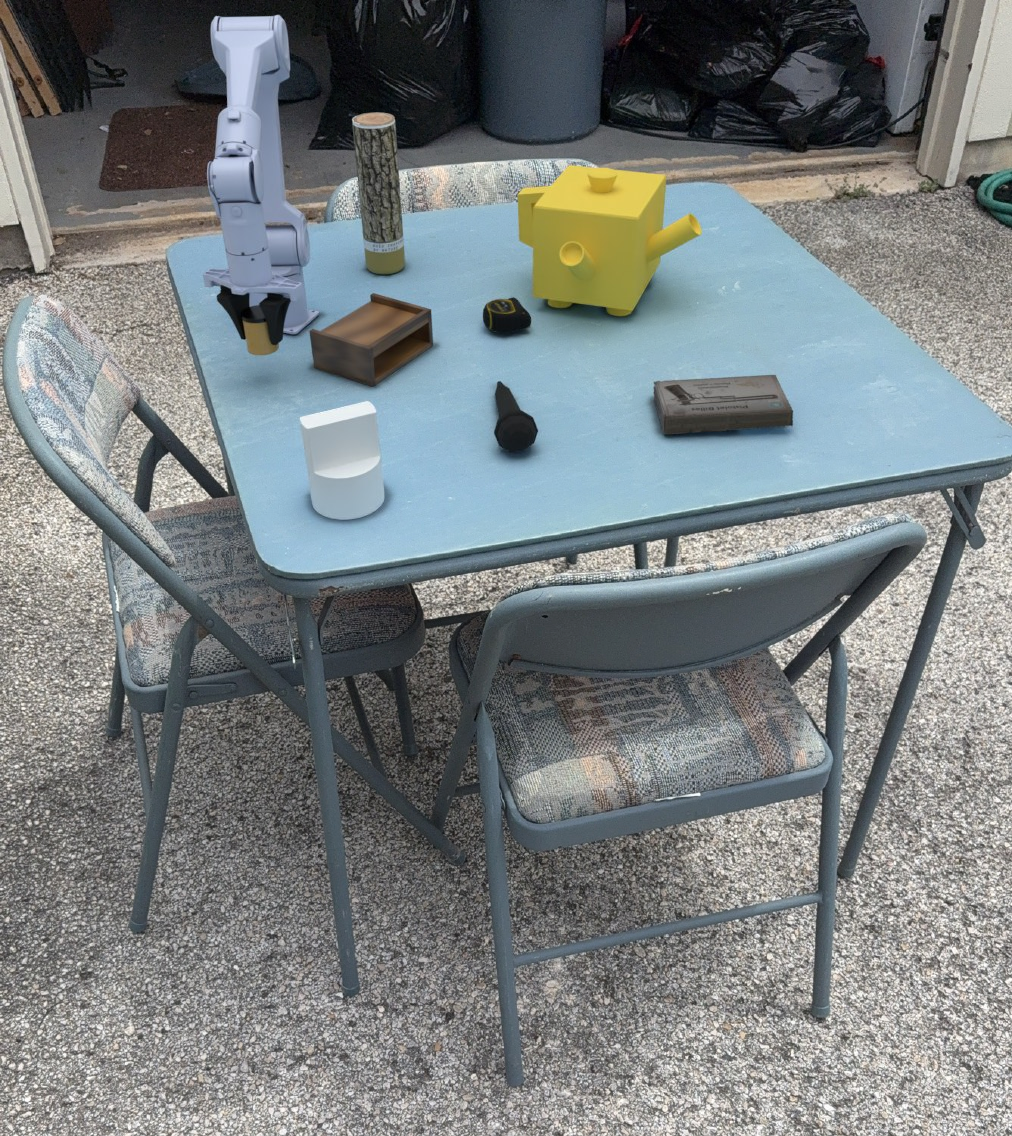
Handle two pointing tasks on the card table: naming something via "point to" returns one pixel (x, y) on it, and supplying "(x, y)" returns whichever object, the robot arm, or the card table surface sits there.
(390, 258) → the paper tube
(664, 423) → the box
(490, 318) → the tape measure
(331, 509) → the base with upright slab
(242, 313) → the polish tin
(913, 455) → the card table surface
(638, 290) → the yellow cubic teapot
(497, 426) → the microphone
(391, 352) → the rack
